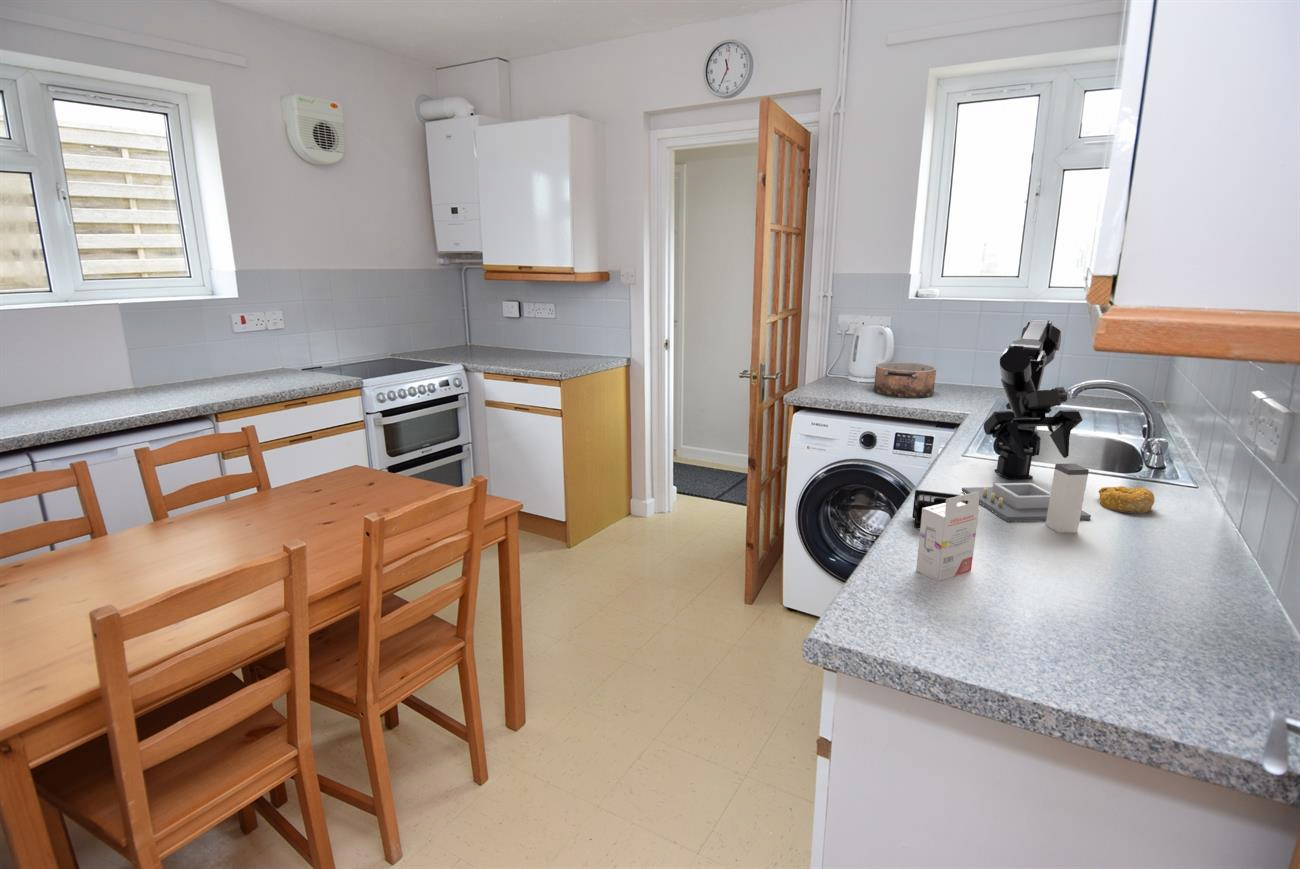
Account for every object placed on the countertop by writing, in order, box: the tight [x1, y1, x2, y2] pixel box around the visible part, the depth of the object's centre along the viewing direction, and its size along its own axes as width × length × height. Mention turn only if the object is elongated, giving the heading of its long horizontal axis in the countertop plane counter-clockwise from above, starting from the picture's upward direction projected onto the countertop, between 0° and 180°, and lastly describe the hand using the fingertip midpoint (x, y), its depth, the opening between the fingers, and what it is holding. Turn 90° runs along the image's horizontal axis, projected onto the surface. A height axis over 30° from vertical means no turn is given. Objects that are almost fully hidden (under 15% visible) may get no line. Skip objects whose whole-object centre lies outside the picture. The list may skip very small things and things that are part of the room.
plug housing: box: [1044, 463, 1090, 534], centre depth 133 cm, size 4×4×13 cm
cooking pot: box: [873, 361, 937, 399], centre depth 266 cm, size 30×22×11 cm
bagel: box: [1098, 485, 1155, 514], centre depth 146 cm, size 10×11×5 cm
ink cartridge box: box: [915, 492, 980, 582], centre depth 114 cm, size 9×5×15 cm, turn 117°
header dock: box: [961, 482, 1092, 522], centre depth 147 cm, size 18×18×4 cm
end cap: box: [912, 489, 968, 529], centre depth 135 cm, size 10×7×7 cm
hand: (1045, 457), depth 139 cm, fingers open, 9 cm apart
